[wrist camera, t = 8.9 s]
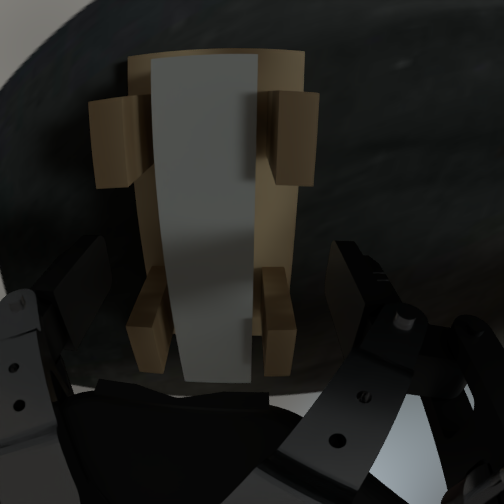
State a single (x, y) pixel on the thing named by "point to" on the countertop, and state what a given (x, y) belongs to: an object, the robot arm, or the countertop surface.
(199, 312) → the clay bar
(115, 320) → the countertop surface
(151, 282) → the rack
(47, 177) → the countertop surface
